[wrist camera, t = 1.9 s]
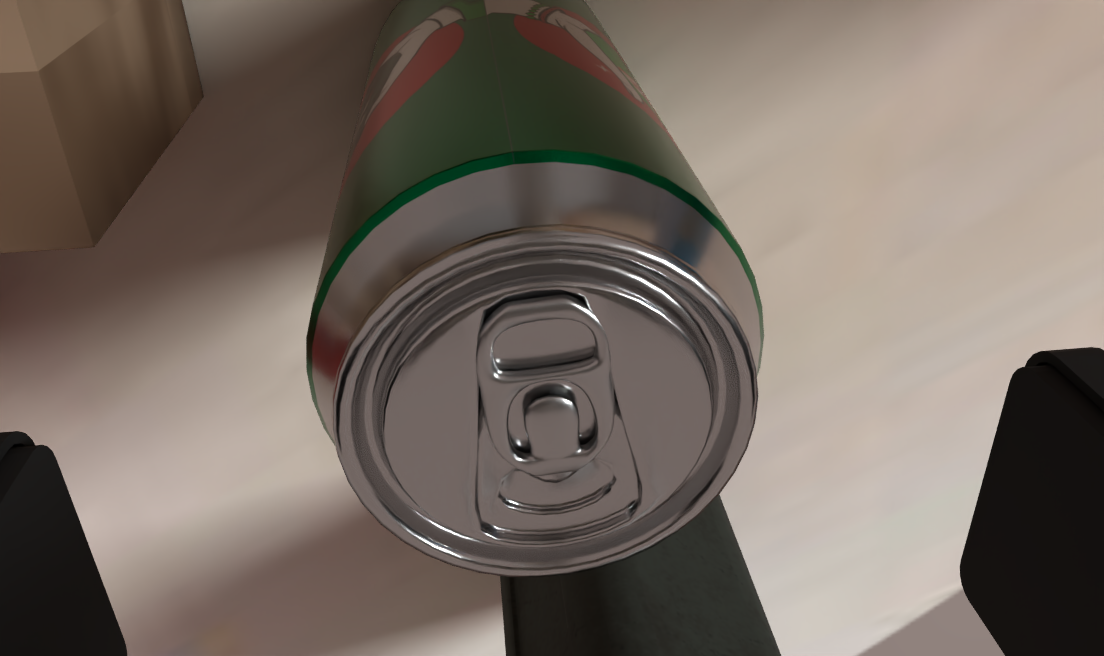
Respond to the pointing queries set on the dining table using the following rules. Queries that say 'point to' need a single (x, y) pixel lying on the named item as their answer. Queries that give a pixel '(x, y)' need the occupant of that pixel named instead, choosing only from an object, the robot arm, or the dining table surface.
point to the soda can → (527, 299)
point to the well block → (85, 112)
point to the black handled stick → (646, 602)
